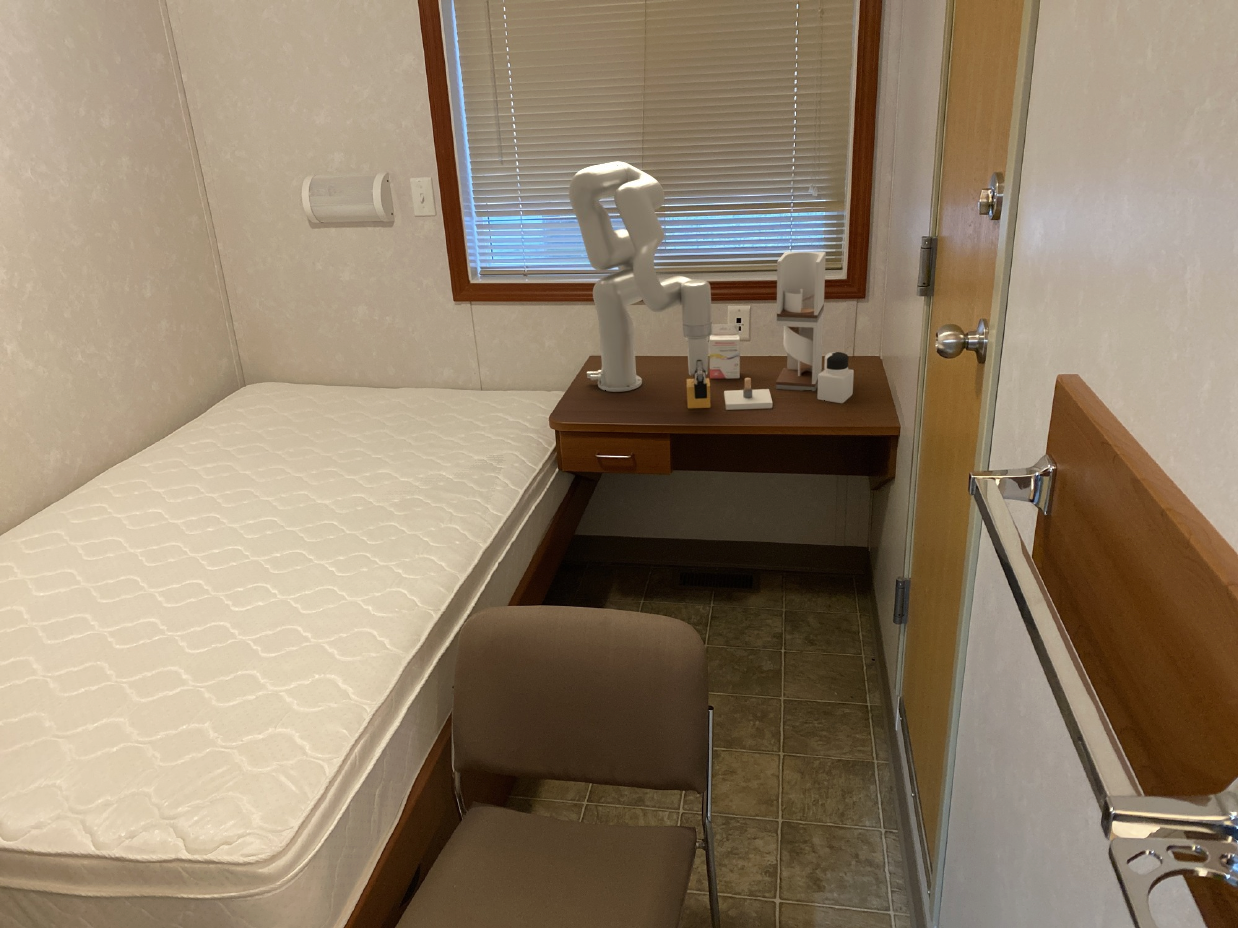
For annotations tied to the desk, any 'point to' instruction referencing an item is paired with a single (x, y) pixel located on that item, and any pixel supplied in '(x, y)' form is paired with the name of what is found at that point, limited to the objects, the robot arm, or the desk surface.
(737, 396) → the mount plate
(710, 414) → the desk surface
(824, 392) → the medicine bottle
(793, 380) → the spiral ramp tower
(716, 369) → the ink cartridge box
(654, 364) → the desk surface
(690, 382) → the orange cube block
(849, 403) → the desk surface
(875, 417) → the desk surface
